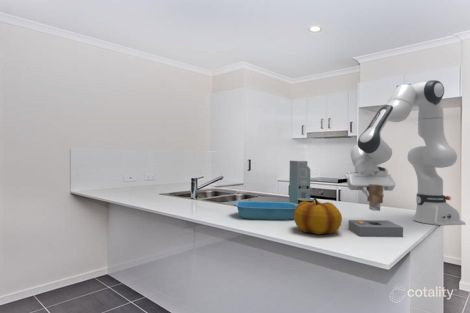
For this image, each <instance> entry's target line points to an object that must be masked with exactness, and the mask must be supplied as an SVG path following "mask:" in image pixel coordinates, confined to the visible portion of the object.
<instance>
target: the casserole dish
mask: <svg viewBox="0 0 470 313" xmlns="http://www.w3.org/2000/svg"><path fill="white" fill-rule="evenodd" d="M232 205H233V206H235V207H237V211H238V215H239V216H240V217H241V218H242V219H244V220H245V219H246V220H263V221H264V220H265V221H266V220H271V221H290V220H291V221H292V220H294V210H295V208H296V207H297V205H298V204H294V203H289V201H287V202H285V201H264V200H262V201H259V200H258V201H256V200H255V201H254V200H242V201H237V202H233V203H232Z"/></svg>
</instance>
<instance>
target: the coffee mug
mask: <svg viewBox="0 0 470 313" xmlns="http://www.w3.org/2000/svg"><path fill="white" fill-rule="evenodd" d="M305 201H306V202H310V203H311V202H314V201H315V200H314V198H310V199H308V198H299V199H298V204H299V203H301V202H305Z"/></svg>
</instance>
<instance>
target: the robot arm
mask: <svg viewBox="0 0 470 313" xmlns="http://www.w3.org/2000/svg"><path fill="white" fill-rule="evenodd" d="M444 95H445V87H444V85H443V83H442V82H441V81H439V80H428V81H422V82H421V81H420V82H417V83H414V84H407V83H405V84H400V85H398V86H397V87H396V89H394V91H393V92H392V94H391V95H390V97H389V100H388V101H387V103H386V104H385V105H383V106H381V107H380V108H379V110H378V111H377V112H376V113H375V115H374V117H373V119H372V120H371V121H370V123H369V125H367V128H366V129H365V130H364V131H363V132H362V133H361V134H360V135H359V137H358V140H357V144H355V145H354V146H352V147H351V150H350V159H351V162H352V165H353V166H354V171H355V172H350V171H349V172H347V173H345V175H344V176H345V179H346V182H347V188H348V189H349V190H350V191H362V193H363V194H364V195H365V196H366V198H367V197H371V192H368V187H369V184H378V185H383V192H384V191H389V192H391V191H393V190H394V189H395V186H396V182H395V180H394V178H393V177H392V175H391V174H390V173H388V172H389V170H388V168H386V167H382V166H379V165H381V164H384V163H386V162H387V161H389V160H390V159H391V157H392V155H393V149H392V148H391V147H390V146H389V144H388V143H387V142H386V141H385V140H384V139H383V137H382V136H381V135H382V134H381V132H382V130H383V129H384V127H385V126H386V124H387V123H388V122H391V123H399V122H403V121H405V120H406V119H407V118H408V117H409V116H410V114H411V112H412V109H413V107H417V106H418V111H417V112H418V114H417V130H418V131H417V134H418V136H419V137H420V138H422V139H423V141H424V144H425V145H421V146H416V147H412V148H411V149H410V150H408V153H407V160H408V162H409V163H410V164H411V166H412V168H413V169H414V172H415V174H416V175H415V176H416V179H417V192H416V200H415V201H416V207H415V208H416V209H415V214H414V217H413V221H415V222H419V223H423V224H427V225H436V226H442V227H443V226H463V225H465V226H466V221H463V220H461V216H460V212H459V211H458V210H457V209H455V207H453V206H451V205H450V204H449V203H448V202H447V201H451V200H452V197H451V196H448V195H444V180H443V178H442V177H441V175H439V174H438V172H437V170H436V168H438V169H443V168H444V169H445V168H448V167H449V168H450V167H453V165H454V164H456V162H457V159H458V154H457V151H456V150H455V149H454V148H453V147H451V145H450V144H449V143H448V141H447V139H446V136H445V128H444V126H445V124H444V110H443V109H444V107H443V104H442V101H441V100H442V99H443V97H444ZM384 196H385V194H384V193H383V198H384Z"/></svg>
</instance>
